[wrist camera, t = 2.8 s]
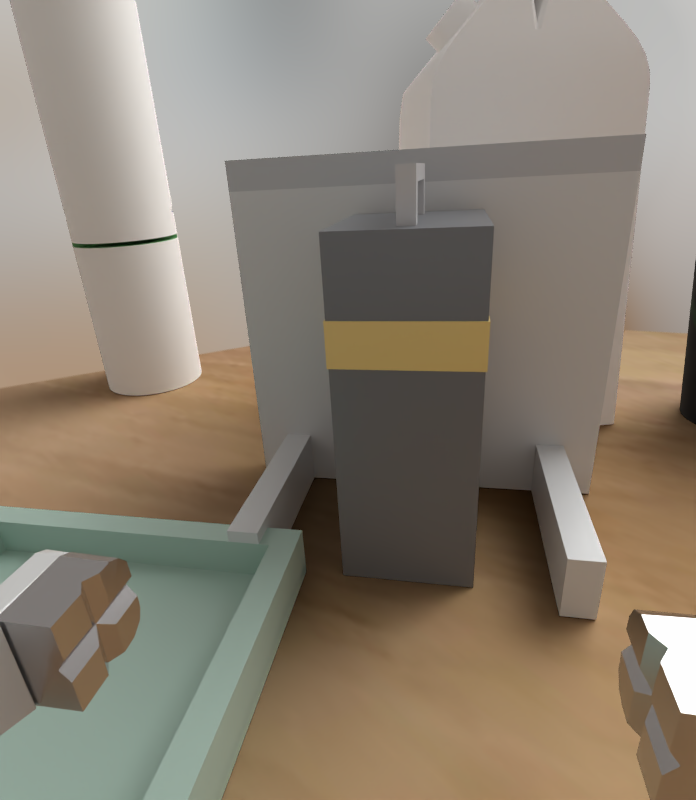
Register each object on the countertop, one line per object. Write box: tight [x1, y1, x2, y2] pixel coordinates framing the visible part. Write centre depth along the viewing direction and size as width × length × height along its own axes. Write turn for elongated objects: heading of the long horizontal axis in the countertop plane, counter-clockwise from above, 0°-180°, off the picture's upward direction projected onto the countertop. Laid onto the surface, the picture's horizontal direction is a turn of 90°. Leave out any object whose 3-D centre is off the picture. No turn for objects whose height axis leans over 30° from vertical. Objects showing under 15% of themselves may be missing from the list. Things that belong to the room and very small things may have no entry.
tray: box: [0, 506, 306, 800], centre depth 16 cm, size 14×14×2 cm
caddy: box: [319, 163, 494, 588], centre depth 20 cm, size 5×6×15 cm
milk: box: [399, 0, 650, 425], centre depth 31 cm, size 12×12×26 cm
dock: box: [225, 134, 646, 620], centre depth 20 cm, size 16×9×15 cm, turn 79°
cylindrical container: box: [10, 0, 201, 396], centre depth 37 cm, size 7×7×25 cm
